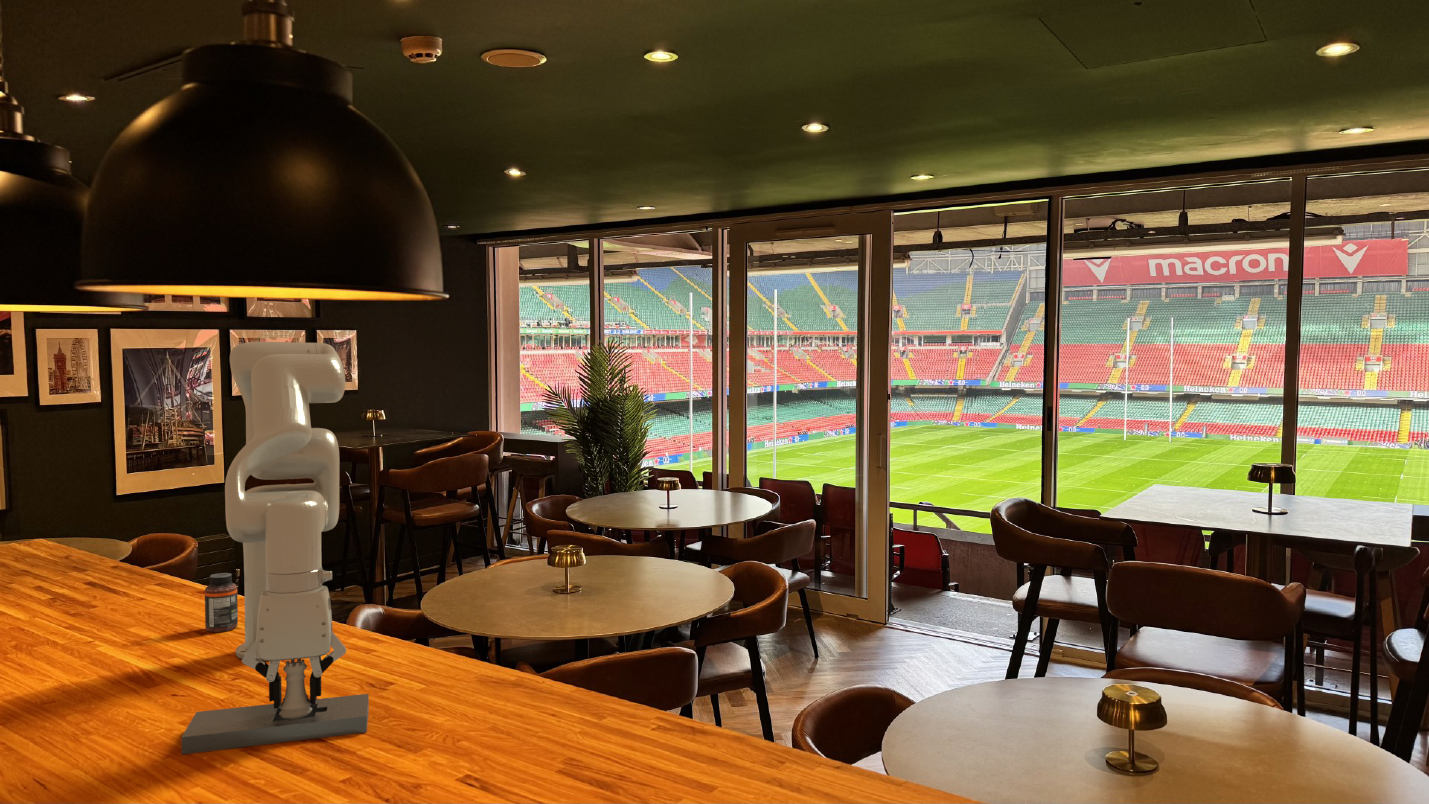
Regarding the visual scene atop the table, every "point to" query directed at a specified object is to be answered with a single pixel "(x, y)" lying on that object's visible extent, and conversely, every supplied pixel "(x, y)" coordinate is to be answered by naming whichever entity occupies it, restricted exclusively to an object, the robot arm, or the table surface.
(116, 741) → the table surface
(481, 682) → the table surface
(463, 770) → the table surface
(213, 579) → the supplement bottle
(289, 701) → the rook chess piece
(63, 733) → the table surface
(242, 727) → the pocket plate
